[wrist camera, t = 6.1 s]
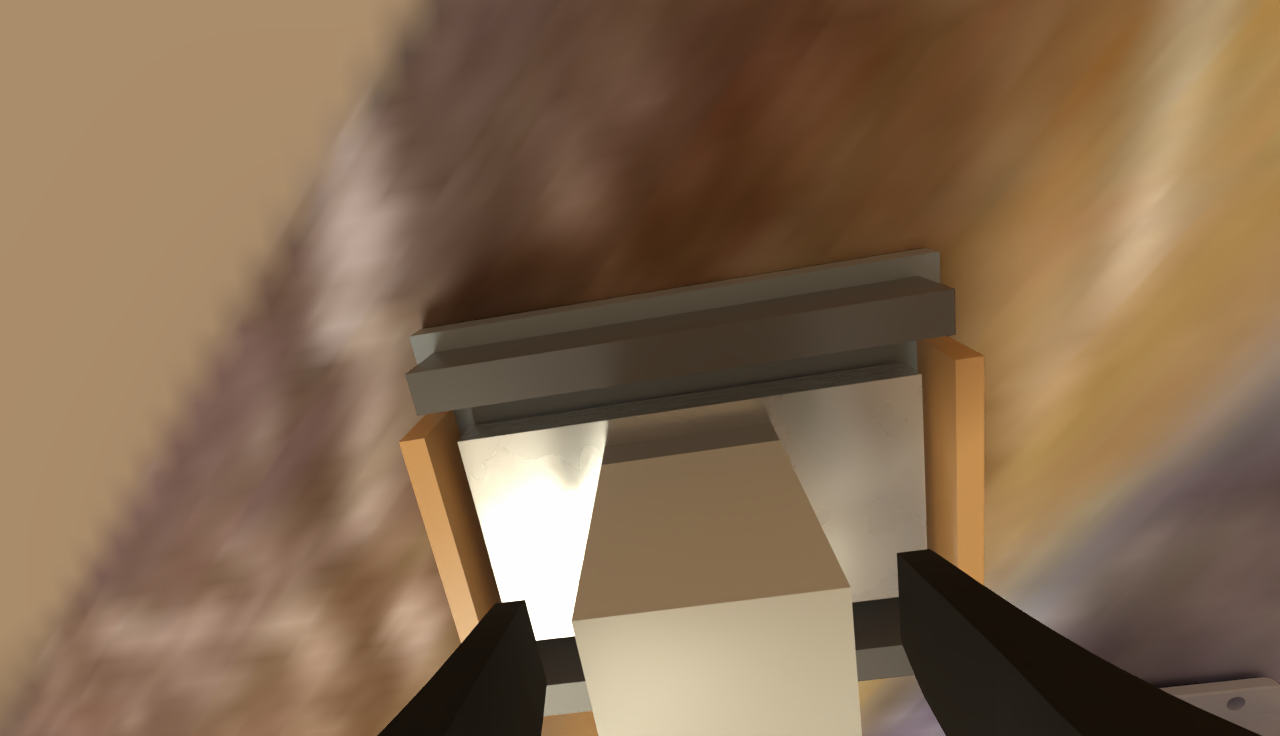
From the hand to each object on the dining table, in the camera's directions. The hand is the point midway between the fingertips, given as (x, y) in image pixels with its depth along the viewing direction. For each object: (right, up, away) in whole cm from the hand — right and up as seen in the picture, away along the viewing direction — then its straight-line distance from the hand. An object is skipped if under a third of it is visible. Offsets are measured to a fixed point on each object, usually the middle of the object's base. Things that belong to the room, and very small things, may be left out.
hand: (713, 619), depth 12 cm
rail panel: (0, +2, +5) cm, 6 cm away
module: (0, +1, +3) cm, 4 cm away
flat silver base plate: (0, +1, +4) cm, 5 cm away
